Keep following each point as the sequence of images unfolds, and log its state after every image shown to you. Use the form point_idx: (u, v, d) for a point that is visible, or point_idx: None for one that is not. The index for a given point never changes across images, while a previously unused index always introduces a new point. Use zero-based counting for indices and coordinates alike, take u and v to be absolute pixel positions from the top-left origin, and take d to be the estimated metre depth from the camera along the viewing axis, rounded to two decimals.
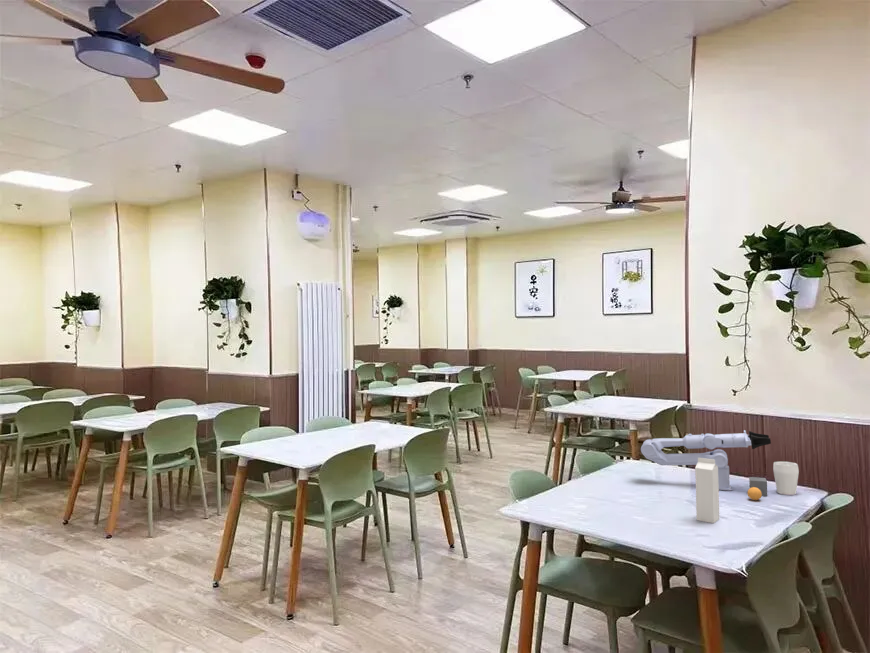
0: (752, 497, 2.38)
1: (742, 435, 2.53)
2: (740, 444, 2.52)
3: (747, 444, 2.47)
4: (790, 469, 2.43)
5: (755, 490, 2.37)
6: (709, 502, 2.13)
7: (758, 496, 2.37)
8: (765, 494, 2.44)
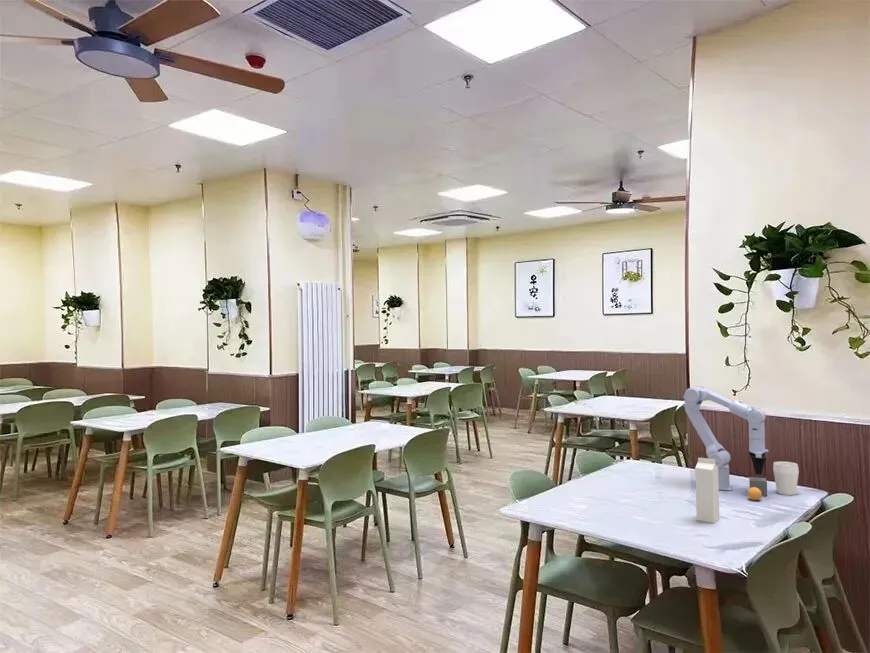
0: (752, 497, 2.38)
1: (763, 448, 2.45)
2: (753, 445, 2.46)
3: (757, 454, 2.41)
4: (790, 469, 2.43)
5: (755, 490, 2.37)
6: (709, 502, 2.13)
7: (758, 496, 2.37)
8: (765, 494, 2.44)
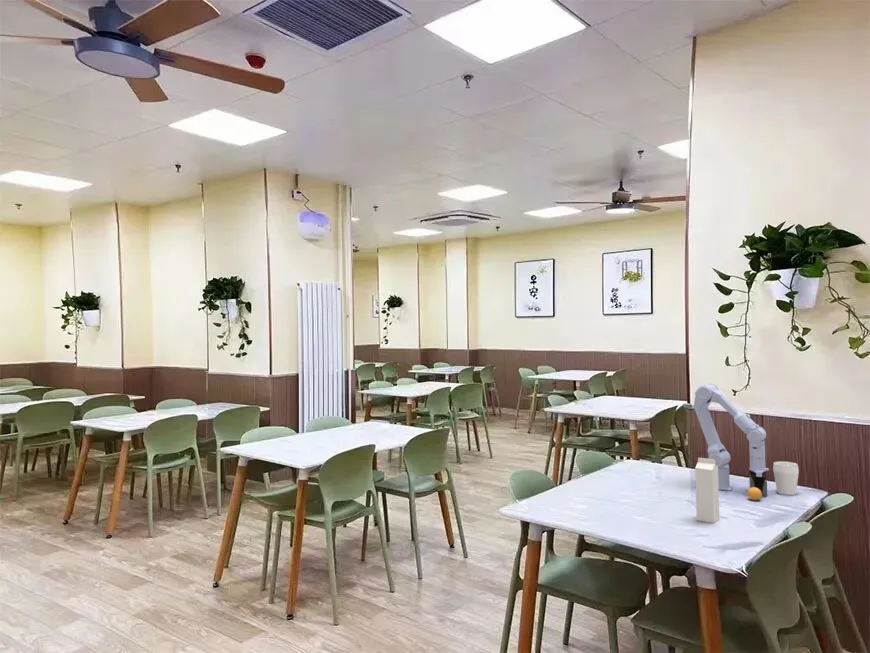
0: (752, 497, 2.38)
1: (764, 467, 2.45)
2: (754, 464, 2.46)
3: (757, 473, 2.41)
4: (790, 469, 2.43)
5: (755, 490, 2.37)
6: (709, 502, 2.13)
7: (758, 496, 2.37)
8: (765, 494, 2.44)
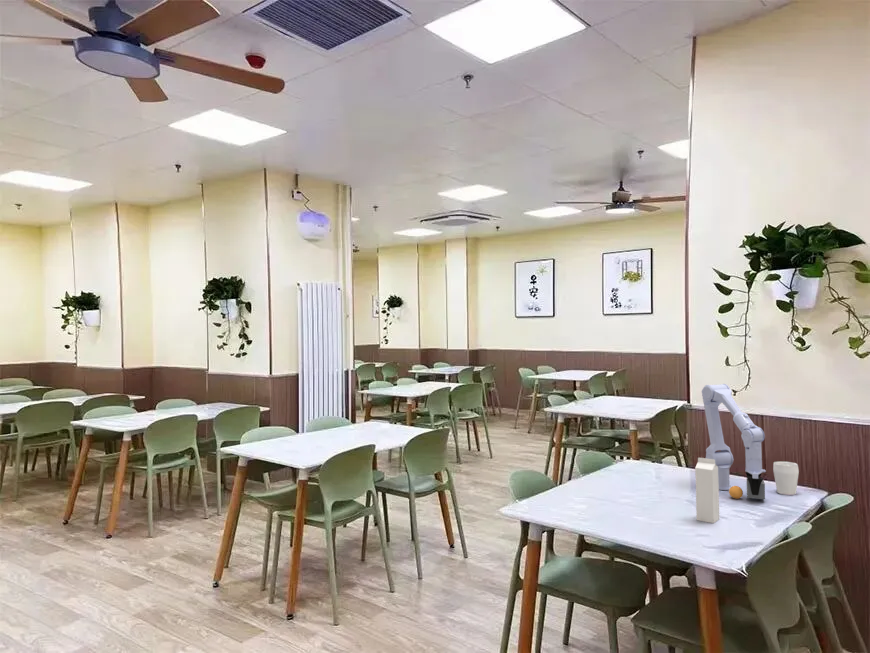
0: (739, 492, 2.39)
1: (760, 468, 2.37)
2: (750, 465, 2.37)
3: (753, 474, 2.33)
4: (790, 469, 2.43)
5: (733, 496, 2.41)
6: (709, 502, 2.13)
7: (733, 491, 2.40)
8: (763, 497, 2.35)
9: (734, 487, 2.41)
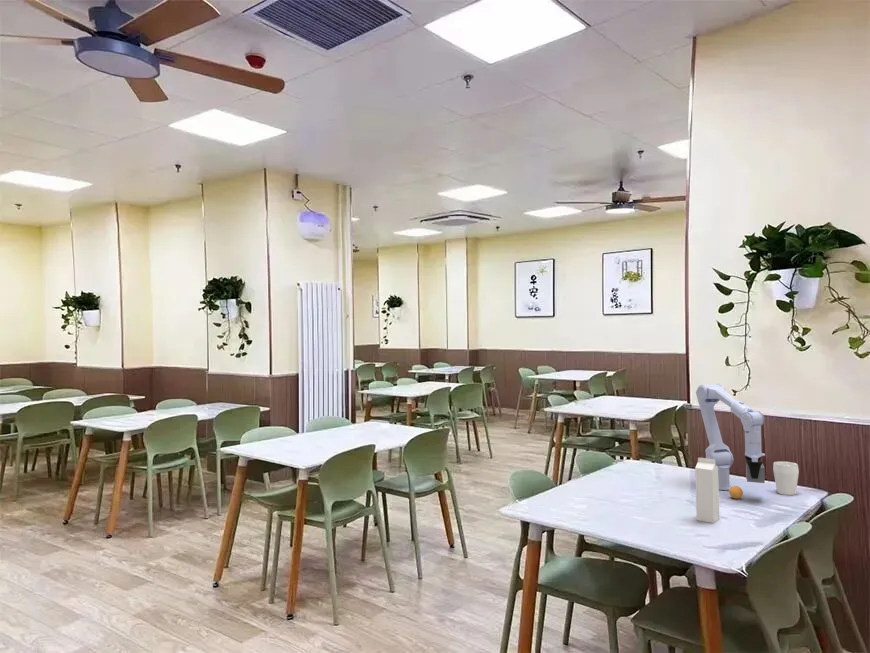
0: (739, 492, 2.39)
1: (760, 452, 2.37)
2: (750, 449, 2.37)
3: (753, 458, 2.33)
4: (790, 469, 2.43)
5: (733, 496, 2.41)
6: (709, 502, 2.13)
7: (733, 491, 2.40)
8: (762, 481, 2.35)
9: (734, 487, 2.41)
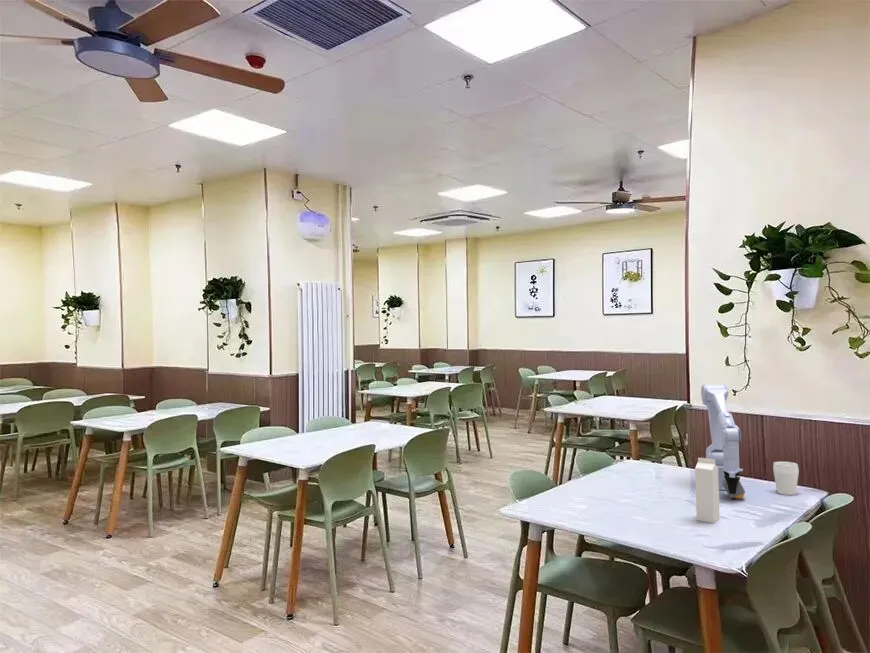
0: None
1: (737, 468, 2.40)
2: (727, 464, 2.41)
3: (730, 473, 2.36)
4: (790, 469, 2.43)
5: None
6: (709, 502, 2.13)
7: None
8: (742, 491, 2.38)
9: None
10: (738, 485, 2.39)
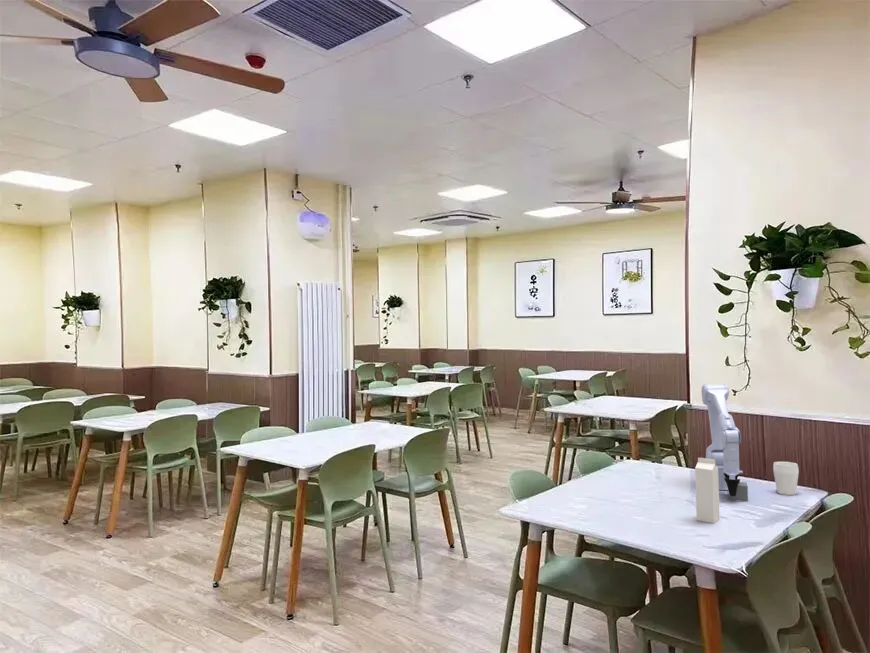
0: None
1: (737, 469, 2.40)
2: (728, 466, 2.41)
3: (730, 475, 2.36)
4: (790, 469, 2.43)
5: None
6: (709, 502, 2.13)
7: None
8: (745, 499, 2.38)
9: None
10: (745, 492, 2.38)
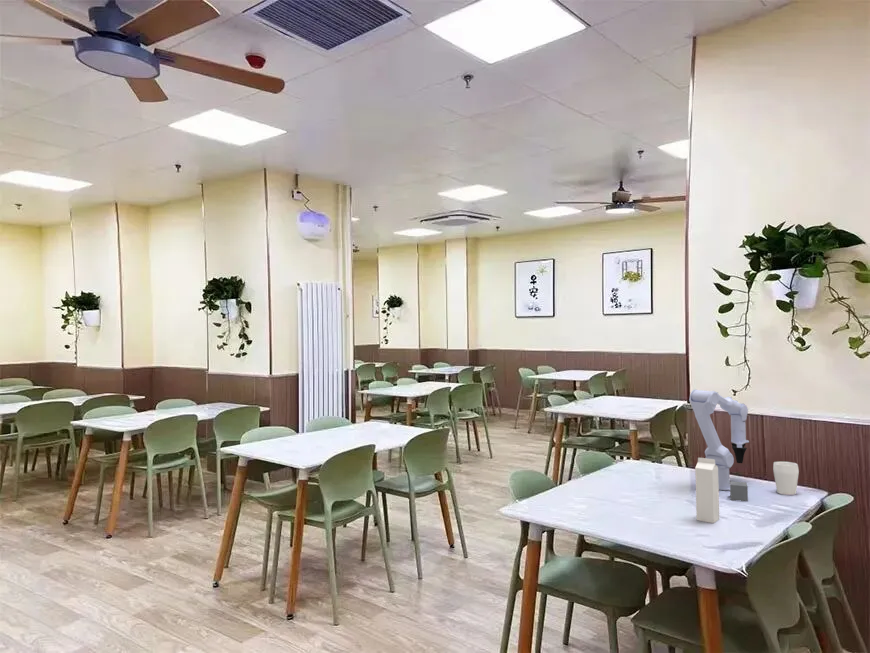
0: None
1: (744, 439, 2.63)
2: (735, 436, 2.64)
3: (738, 444, 2.59)
4: (790, 469, 2.43)
5: None
6: (709, 502, 2.13)
7: None
8: (745, 499, 2.38)
9: None
10: (745, 492, 2.38)
